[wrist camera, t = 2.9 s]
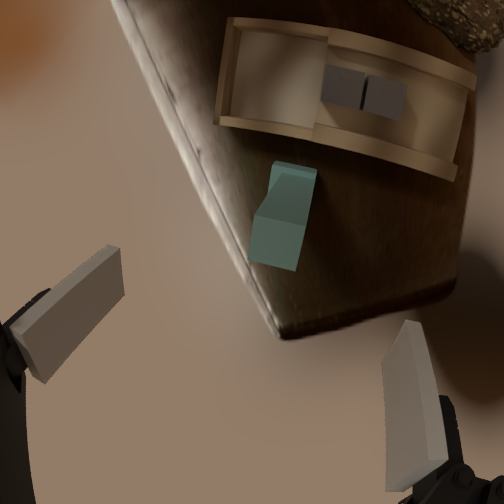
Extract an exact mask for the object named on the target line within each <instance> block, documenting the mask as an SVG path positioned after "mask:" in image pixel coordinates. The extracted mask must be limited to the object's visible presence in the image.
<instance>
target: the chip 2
mask: <svg viewBox="0 0 504 504" xmlns="http://www.w3.org/2000/svg"><path fill="white" fill-rule="evenodd" d="M406 89H407V85H405V84H402V83H399V82H395V81H392V80H389V79H385V78H382V77H378V76H375V75H371V74H369V75H368V76H366V77H365V81H364V87H363V92H362V98H361V103H360V108H359V110H362V111H365V112H369V113H373V114H376V115H380V116H383V117H387V118H390V119H393V120H397V121H400V120H401V115H402V110H403V105H404V100H405V95H406Z"/></svg>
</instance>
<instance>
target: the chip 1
mask: <svg viewBox="0 0 504 504" xmlns="http://www.w3.org/2000/svg"><path fill="white" fill-rule="evenodd" d="M365 74H366V73H364V72H360V71H356V70H352V69H347V68H343V67H338V66H334V65H329V64H326V69H325V75H324V81H323V87H322V92H321V98H320V101H324V102H328V103H333V104H337V105H341V106H346V107H350V108H354V109H358V110H359V108H360V102H361V97H362V92H363V86H364V80H365Z"/></svg>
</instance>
